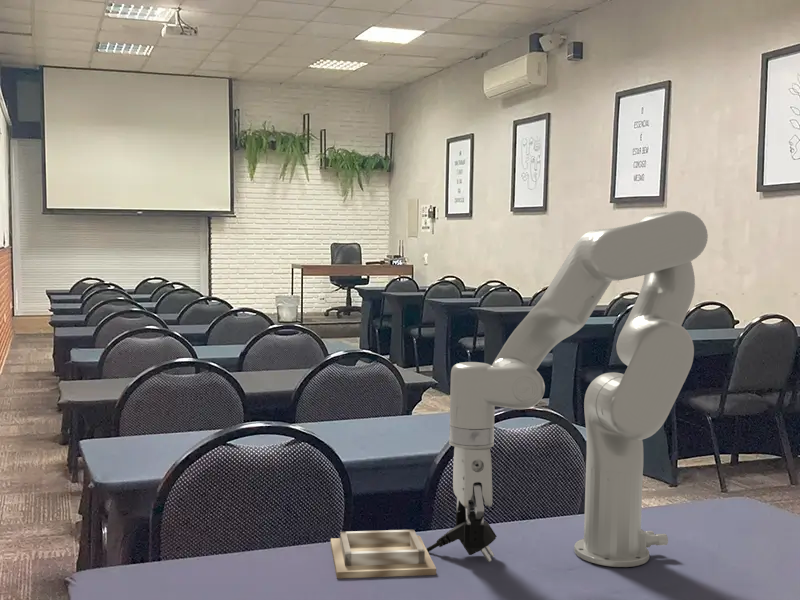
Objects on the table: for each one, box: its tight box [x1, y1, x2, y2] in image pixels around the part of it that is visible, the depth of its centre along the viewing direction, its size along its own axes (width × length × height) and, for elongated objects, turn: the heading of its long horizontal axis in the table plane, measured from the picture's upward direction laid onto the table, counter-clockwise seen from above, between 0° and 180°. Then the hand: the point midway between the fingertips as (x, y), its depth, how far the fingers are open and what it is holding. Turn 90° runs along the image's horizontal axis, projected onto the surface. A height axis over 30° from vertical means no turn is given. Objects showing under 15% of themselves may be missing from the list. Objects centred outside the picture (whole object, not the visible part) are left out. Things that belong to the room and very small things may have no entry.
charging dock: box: [330, 529, 437, 579], centre depth 143 cm, size 16×16×3 cm
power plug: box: [426, 520, 497, 563], centre depth 145 cm, size 6×8×12 cm
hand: (469, 539), depth 144 cm, fingers closed on power plug, 5 cm apart
